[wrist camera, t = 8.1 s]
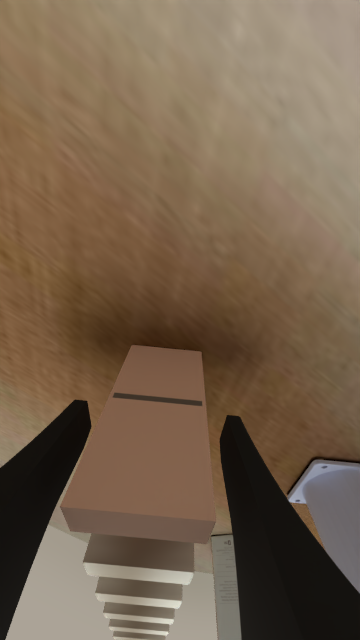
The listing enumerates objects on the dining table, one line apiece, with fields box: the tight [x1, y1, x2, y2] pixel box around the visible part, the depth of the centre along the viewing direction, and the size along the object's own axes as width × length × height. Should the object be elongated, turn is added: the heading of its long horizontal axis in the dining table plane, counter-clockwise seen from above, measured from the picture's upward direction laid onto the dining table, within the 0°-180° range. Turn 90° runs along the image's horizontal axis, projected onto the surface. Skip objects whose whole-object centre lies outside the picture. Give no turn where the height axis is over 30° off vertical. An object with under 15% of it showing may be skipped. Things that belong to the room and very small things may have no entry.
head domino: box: [60, 345, 216, 544], centre depth 11 cm, size 5×2×9 cm, turn 85°
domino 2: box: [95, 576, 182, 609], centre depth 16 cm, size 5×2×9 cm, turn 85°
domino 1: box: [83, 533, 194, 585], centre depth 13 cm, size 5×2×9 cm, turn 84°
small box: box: [211, 535, 241, 640], centre depth 25 cm, size 8×6×13 cm
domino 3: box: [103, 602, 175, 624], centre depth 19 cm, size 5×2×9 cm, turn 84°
